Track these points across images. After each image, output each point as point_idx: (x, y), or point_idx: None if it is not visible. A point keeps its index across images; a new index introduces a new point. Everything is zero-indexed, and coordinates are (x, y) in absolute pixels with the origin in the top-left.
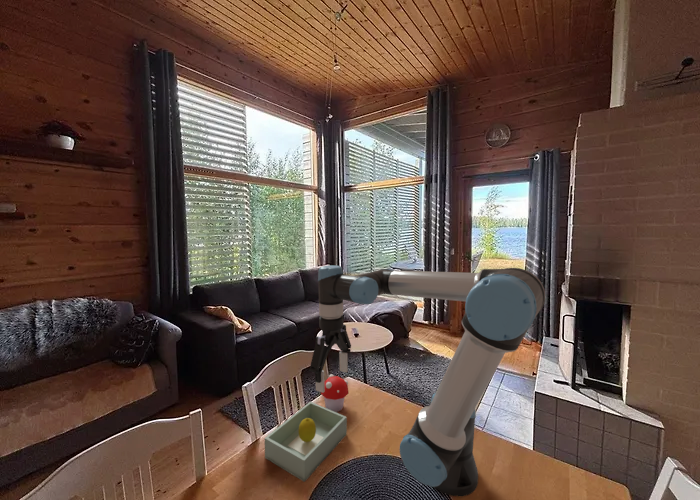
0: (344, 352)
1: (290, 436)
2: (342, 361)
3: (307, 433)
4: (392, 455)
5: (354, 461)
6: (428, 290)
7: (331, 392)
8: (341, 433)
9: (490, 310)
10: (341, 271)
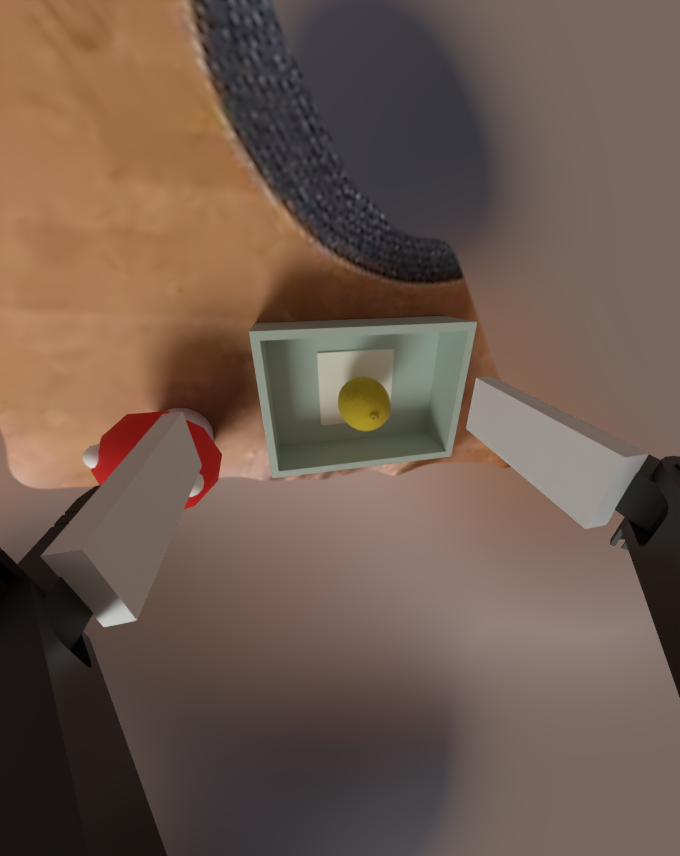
0: (71, 587)
1: (361, 435)
2: (162, 501)
3: (384, 389)
4: (218, 98)
5: (327, 232)
6: None
7: (202, 454)
8: (284, 324)
9: None
10: None
